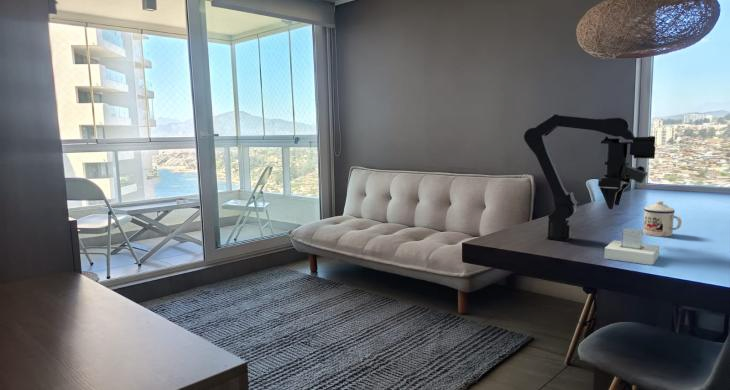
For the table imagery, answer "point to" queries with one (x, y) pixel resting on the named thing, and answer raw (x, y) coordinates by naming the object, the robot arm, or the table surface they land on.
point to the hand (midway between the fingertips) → (613, 207)
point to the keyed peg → (632, 238)
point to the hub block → (632, 253)
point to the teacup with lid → (660, 220)
